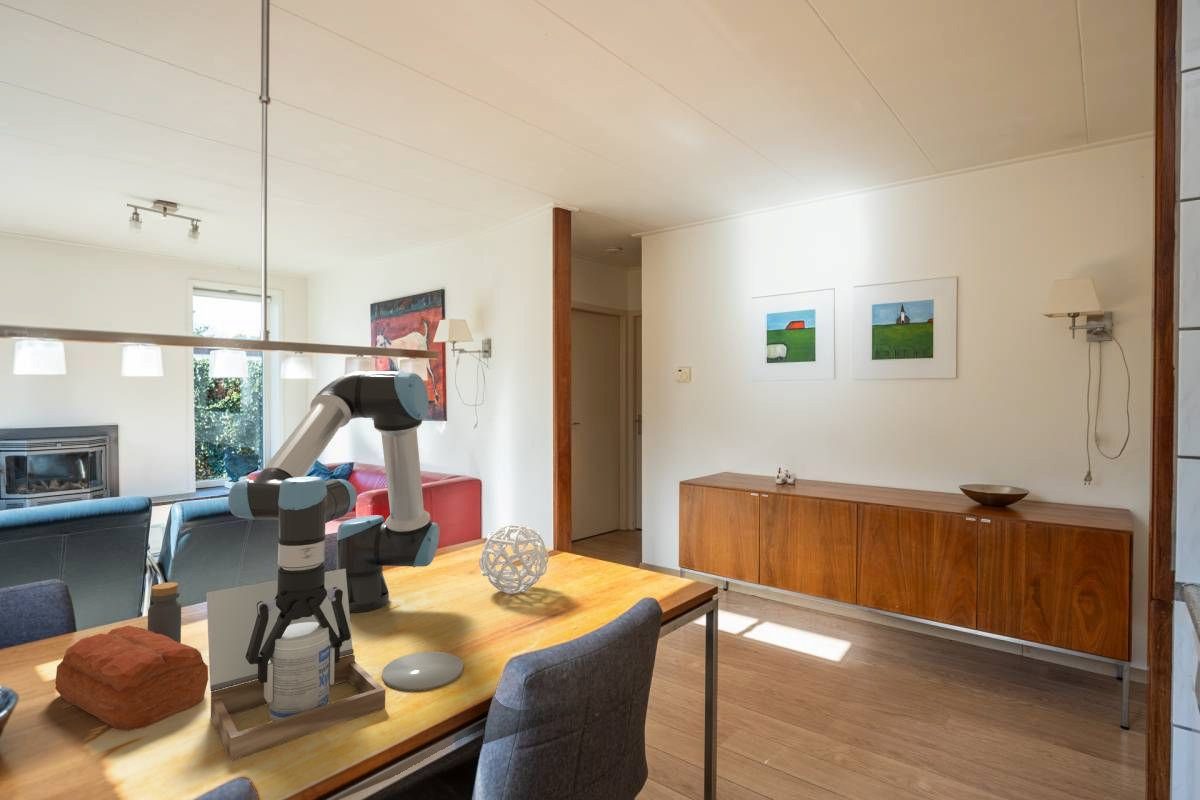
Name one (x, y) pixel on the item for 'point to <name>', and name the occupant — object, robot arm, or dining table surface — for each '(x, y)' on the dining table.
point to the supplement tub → (300, 670)
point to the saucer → (422, 671)
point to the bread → (132, 677)
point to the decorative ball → (513, 558)
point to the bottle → (165, 611)
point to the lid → (236, 621)
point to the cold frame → (293, 725)
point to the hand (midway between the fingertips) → (299, 690)
